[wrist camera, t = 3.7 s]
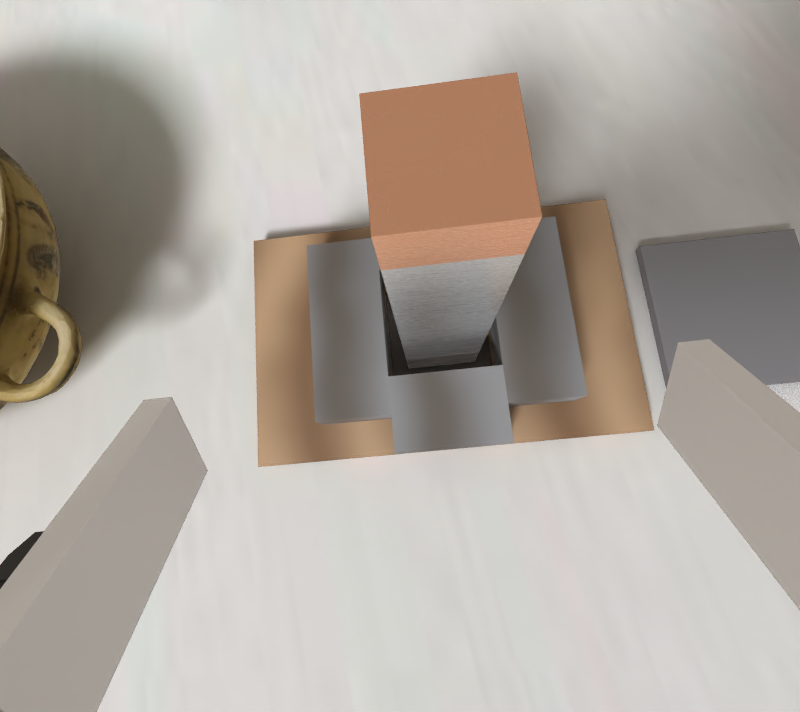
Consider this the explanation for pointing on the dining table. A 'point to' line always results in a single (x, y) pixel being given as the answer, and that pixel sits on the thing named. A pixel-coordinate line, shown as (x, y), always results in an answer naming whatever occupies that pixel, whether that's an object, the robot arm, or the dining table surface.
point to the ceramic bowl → (30, 290)
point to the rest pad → (728, 299)
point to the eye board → (527, 423)
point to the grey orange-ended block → (448, 208)
